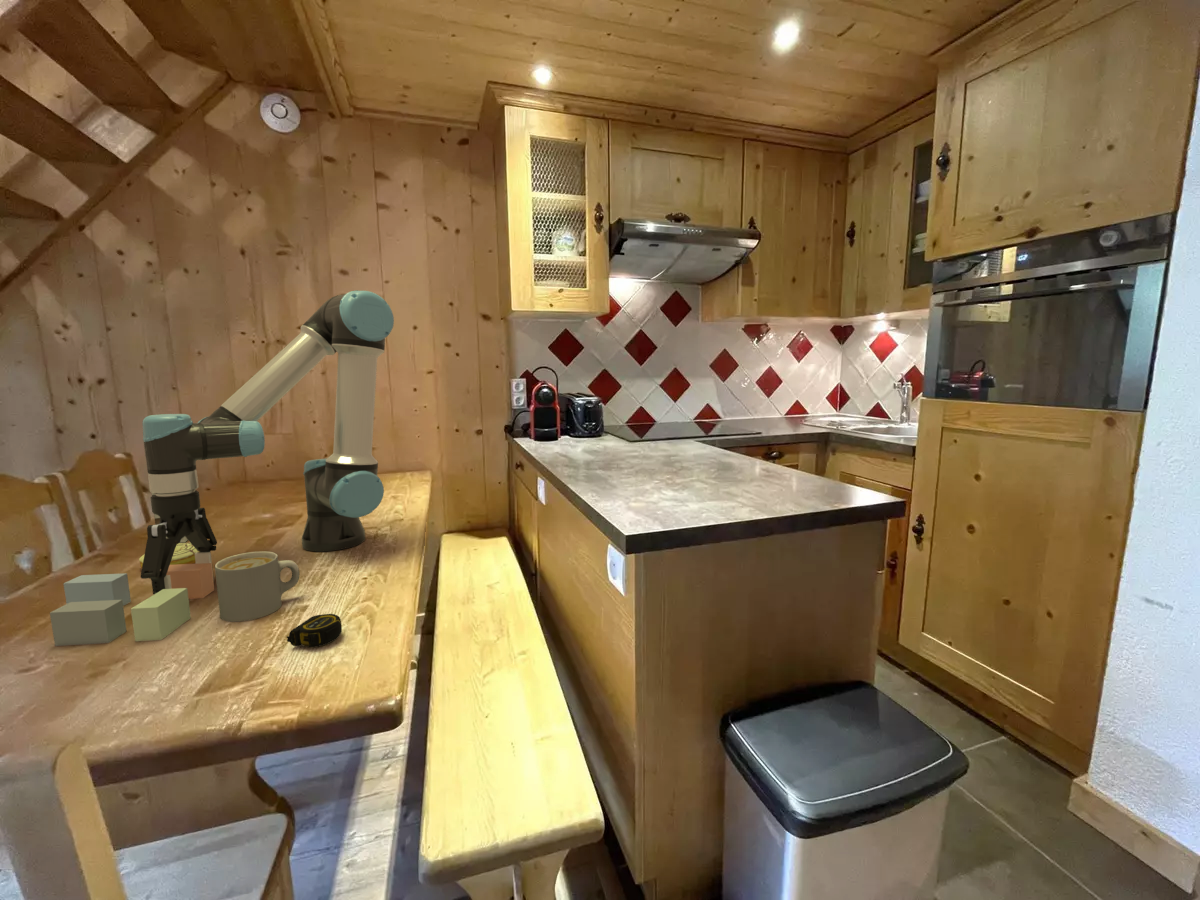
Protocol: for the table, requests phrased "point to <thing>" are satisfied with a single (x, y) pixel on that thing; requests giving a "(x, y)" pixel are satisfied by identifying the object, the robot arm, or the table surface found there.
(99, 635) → the brick slate
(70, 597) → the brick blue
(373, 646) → the table surface
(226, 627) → the table surface
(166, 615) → the brick sage
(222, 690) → the table surface
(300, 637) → the tape measure
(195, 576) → the brick terracotta
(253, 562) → the coffee mug
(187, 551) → the decorated donut
